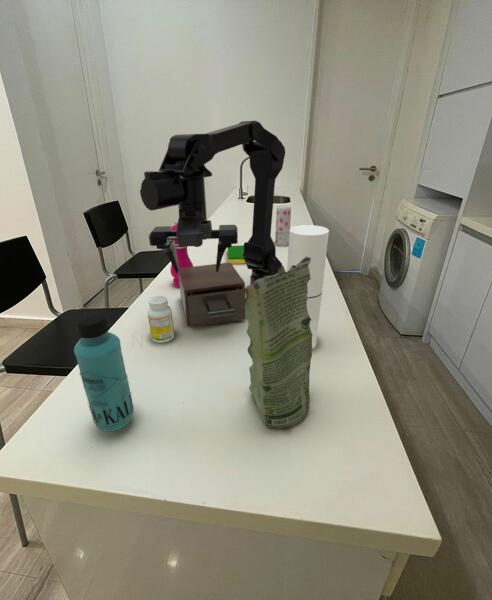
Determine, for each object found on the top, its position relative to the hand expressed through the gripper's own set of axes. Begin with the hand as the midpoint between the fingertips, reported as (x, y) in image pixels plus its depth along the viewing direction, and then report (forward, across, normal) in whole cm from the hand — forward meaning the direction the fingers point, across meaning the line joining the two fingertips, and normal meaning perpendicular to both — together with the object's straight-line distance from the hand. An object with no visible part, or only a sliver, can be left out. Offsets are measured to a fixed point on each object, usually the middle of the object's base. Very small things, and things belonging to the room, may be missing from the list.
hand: (197, 271), depth 75 cm
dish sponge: (+14, +9, +47) cm, 50 cm away
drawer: (+13, +3, +2) cm, 13 cm away
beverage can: (+14, +27, +62) cm, 69 cm away
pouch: (+14, +16, -27) cm, 34 cm away
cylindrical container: (+14, +23, -9) cm, 28 cm away
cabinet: (+14, +2, +7) cm, 15 cm away
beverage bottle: (+14, -11, -32) cm, 36 cm away
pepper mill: (+14, -8, +24) cm, 28 cm away
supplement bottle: (+14, -8, -6) cm, 17 cm away
